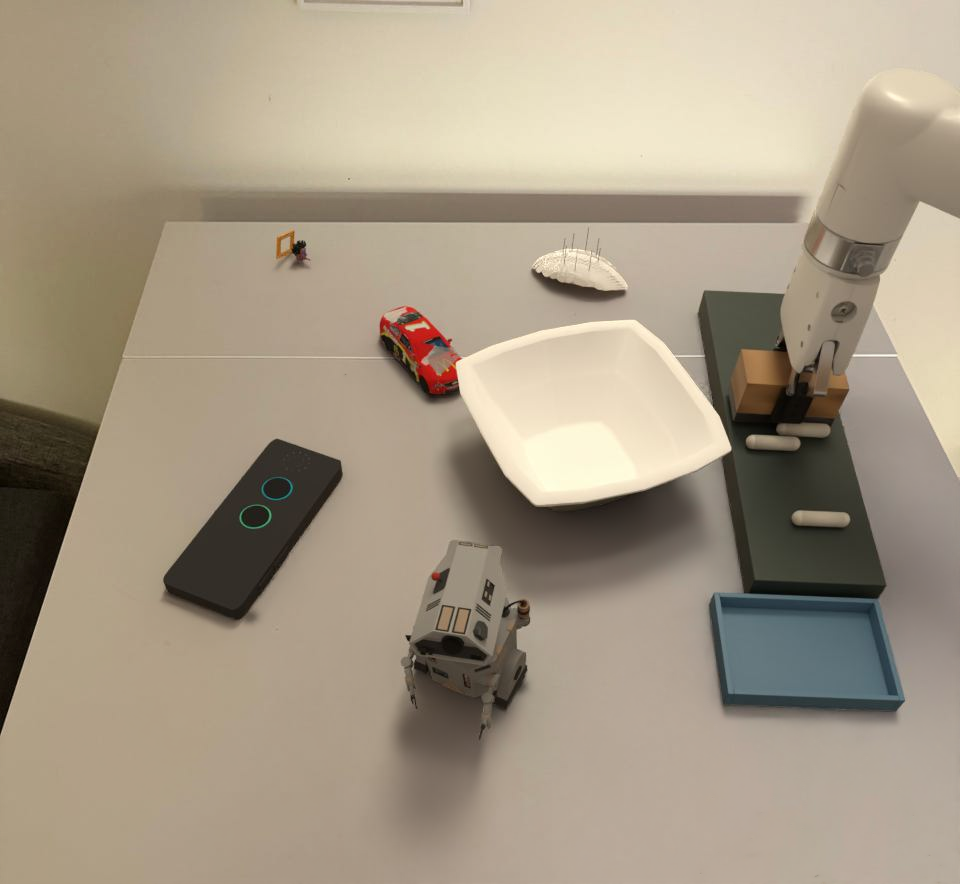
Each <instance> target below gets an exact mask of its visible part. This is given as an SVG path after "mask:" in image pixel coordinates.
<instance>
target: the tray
mask: <svg viewBox="0 0 960 884" xmlns="http://www.w3.org/2000/svg"><path fill="white" fill-rule="evenodd" d="M708 607H709V616H710V622H711V623H710V624H711V630H712V639H713V645H714V651H715V659H716V660H715V661H716V666H717V667H716V668H717V673H718V680H719V688H720V694H721V702H722V705H725V706H749V707H750V706H751V707H752V706H753V707H772V708H773V707H775V708H777V707H778V708H799V709H800V708H801V709H825V710H827V709H828V710H848V711H849V710H851V711H852V710H853V711H877V712H897V711H898V710H899V709H900V708H901V707H902V706H903V704H904V703H905V702H906V697H905V694H904V691H903V687H902V683H901V678H900V675H899V672H898V671H899V670H898V668H897V664H896V660H895V656H894V652H893V649H892V645H891V642H890V638H889V634H888V630H887V626H886V623H885V620H884V615H883V612H882V611H883V610H882V607H881V604H880V601H879V598H878V599H865V598H841V597H816V596H792V595H767V594H745V593H740V592H739V593H738V592H717V591H716V592H715V591H714V592H713V593H712V596H711V597H710V601H709V603H708Z"/></svg>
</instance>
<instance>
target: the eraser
mask: <svg viewBox="0 0 960 884" xmlns="http://www.w3.org/2000/svg"><path fill="white" fill-rule="evenodd" d="M812 362H815V359H814V360H813V361H812ZM792 368H793V367H792V365H791V362H790V358H789V354H788V352H779V351H762V350H746V349H741V352H740V355H739V357H738V360H737V363H736V366H735V369H734V372H733V374H732V377H731V380H730V383H729V386H728V393H729V399H730V405H731V411H732V417H733V421H734V422H751V423H768V424H779V423H773V422H771V419H770V415H771V413H772V411H773V408H774V406H775V404H776V401H777V399H778V397H779V394H780V392H781V390H782V388H787V384H788V381H789V378H790V374H791V371H792ZM812 374H813V373H804V372H801V375H800V378H799V381H798V383H799V382H810V381H811V379H812ZM850 389H851V388H850V385H849V381H848V378H847V374H846V371H845V372H844V373H843V374H842V375H841V376H837V375H833V373H832V369H831V373H830V379H829V385H828V390H827V394H826V396H825V397H816V398H813V401H812V403H811V405H810V407H809V409H808V411H807V413H806V415H805V418H804V420H803V422H804V423H824V424H827V425H829V427H831V426H832V424H833V422H834V420H835V418H836V416H837V414H838V412H839V413H840V409H841V407H842V406H843V403H844V402H845V400H846V398H847V396H848V394H849V392H850Z"/></svg>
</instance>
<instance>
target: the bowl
mask: <svg viewBox="0 0 960 884" xmlns="http://www.w3.org/2000/svg"><path fill="white" fill-rule="evenodd" d="M456 370H457V376H458V382H459V388H460V389H459V394H460V397H461V399H462V400H463V402H464V405H465V407H466V408H467V410H468V412H469V414H470V416H471V418H472V420H473V421H474V424H475V425H476V427H477V429H478V431H479V433H480V435H481V437H482V438H483V440H484V442H485V443H486V445H487V448H488V449H489V451H490V453H491V454H492V455H493V458H494V459H495V461H496V464H497V465H498V467H499V468H500V470H501V472H502V473H503V475H504V477H505V478H506V479H507V480H509V482H510V483H511V484H512V485H513V486H514V487H515V488H516V489H517V490H518V491H519V492H520V493H521V495H523V496H524V498H526V500H528V501H529V503H530V504H531V505H533V506H534V507H536V508H537V507H538V508H544V507H545V508H546V507H547V508H550V509H551V510H552V511H554V512H568V511H569V512H571V511H581V510H584V509H590V508H593V507H599V506H604V505H606V504H609V503H612V502H614V501H617V500H619V499H622V498H625V497H628V496H630V495H632V494H636V493H641V492H645V491H648V490H650V489H654V488H656V487H658V486H661V485H664V484H667V483H669V482H672V481H675V480H677V479H680V478H683V477H685V476H688V475H691V474H693V473H696V472H698V471H700V470H702V469H704V468H705V467H707V466H708V465H711V464H712V463H715V462H716V461H718V460H719V459H722V457H723V456H725V455H726V454H728V453H729V452H730V451H731V445H730V443H729V440H728V437H727V435H726V432H725V430H724V427H723V424H722V422H721V419H720V416H719V415H718V414H717V412H716V411H715V409H714V406H713V405H712V404H711V403H710V401H709V400H708V399H707V397H706V396H705V394H704V393H703V392H702V390H701V389H700V388H699V386H698V385H697V384H696V382H695V381H694V379H693V378H692V376H691V375H690V374H689V373H688V372H687V370H686V369H685V368H684V367H683V365H682V364H681V363H680V361H679V360H678V359H677V358H676V356H675V354H673V352H672V351H671V350H670V348H669V347H668V346H667V345H666V343H665V342H664V341H663V340H661V339H660V338H659V337H657V336H656V335H655V334H654V333H652V332H651V331H650V330H649V329H648V328H646V327H645V326H644V325H642V324H641V322H639V321H638V320H636V319H621V320H619V319H618V320H605V321H604V320H603V321H602V320H601V321H590V322H584V323H579V324H571V325H566V326H561V327H553V328H548V329H541V330H539V331H535V332H532V333H528V334H525V335H522V336H519V337H515V338H512V339H508V340H506V341H502V342H499V343H495V344H492V345H490V346H488V347H486V348H483V349H481V350H479V351H477V352H474V353H472V354H471V355H467V356H466V357H464V358H462V359H461V360H459V361H457V362H456Z"/></svg>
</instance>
